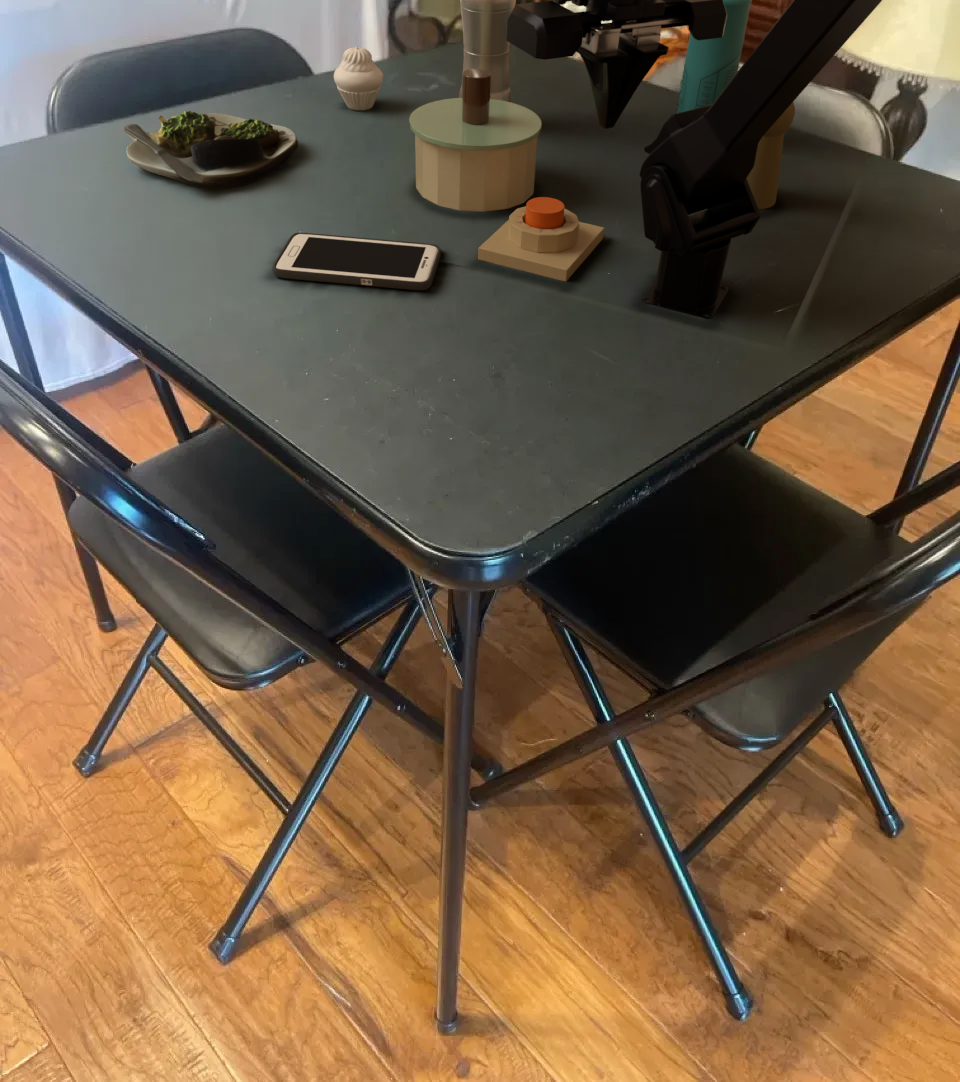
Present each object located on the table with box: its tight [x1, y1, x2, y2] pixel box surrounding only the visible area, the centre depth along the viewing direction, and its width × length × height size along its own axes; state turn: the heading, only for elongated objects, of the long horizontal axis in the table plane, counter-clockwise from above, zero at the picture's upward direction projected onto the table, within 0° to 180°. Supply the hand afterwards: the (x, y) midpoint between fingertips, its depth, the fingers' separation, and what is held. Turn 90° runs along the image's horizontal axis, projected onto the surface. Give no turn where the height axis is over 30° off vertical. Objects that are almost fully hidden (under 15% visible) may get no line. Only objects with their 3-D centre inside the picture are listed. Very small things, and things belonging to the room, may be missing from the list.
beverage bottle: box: [675, 0, 753, 114], centre depth 106 cm, size 6×7×20 cm
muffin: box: [333, 45, 384, 111], centre depth 115 cm, size 6×6×7 cm
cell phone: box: [272, 232, 442, 291], centre depth 86 cm, size 8×15×1 cm, turn 83°
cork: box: [746, 101, 796, 210], centre depth 96 cm, size 6×6×11 cm
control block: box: [477, 205, 605, 282], centre depth 88 cm, size 10×9×4 cm
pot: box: [414, 134, 539, 213], centre depth 97 cm, size 13×13×7 cm
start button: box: [525, 196, 566, 229], centre depth 87 cm, size 4×4×2 cm
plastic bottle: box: [458, 0, 517, 103], centre depth 106 cm, size 6×7×20 cm
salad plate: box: [123, 110, 299, 190], centre depth 102 cm, size 19×18×5 cm
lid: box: [408, 69, 543, 151], centre depth 93 cm, size 14×14×6 cm
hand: (606, 127), depth 83 cm, fingers closed
